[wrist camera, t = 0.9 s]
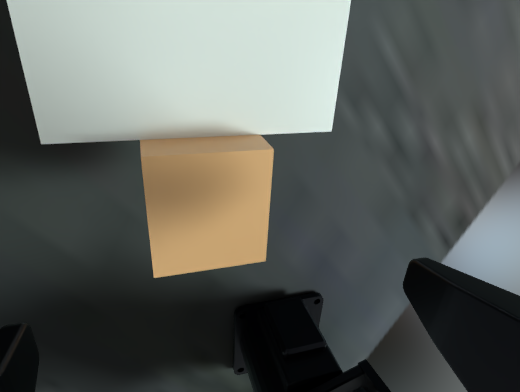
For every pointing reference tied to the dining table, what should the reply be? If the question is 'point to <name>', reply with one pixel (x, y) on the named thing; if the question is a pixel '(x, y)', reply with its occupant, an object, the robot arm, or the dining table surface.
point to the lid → (187, 103)
